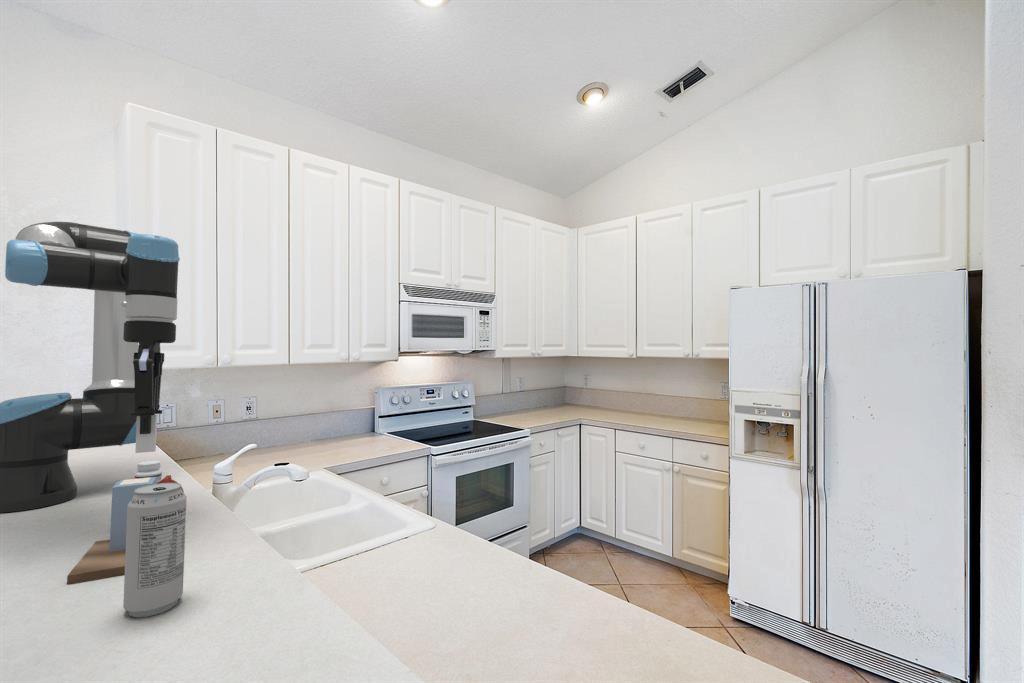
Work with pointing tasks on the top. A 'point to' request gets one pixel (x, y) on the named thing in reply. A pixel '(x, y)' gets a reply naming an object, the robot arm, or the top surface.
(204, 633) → the top surface
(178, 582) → the energy drink can
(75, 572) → the board
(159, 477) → the pill bottle
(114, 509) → the block
